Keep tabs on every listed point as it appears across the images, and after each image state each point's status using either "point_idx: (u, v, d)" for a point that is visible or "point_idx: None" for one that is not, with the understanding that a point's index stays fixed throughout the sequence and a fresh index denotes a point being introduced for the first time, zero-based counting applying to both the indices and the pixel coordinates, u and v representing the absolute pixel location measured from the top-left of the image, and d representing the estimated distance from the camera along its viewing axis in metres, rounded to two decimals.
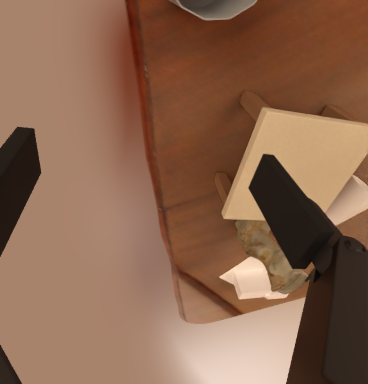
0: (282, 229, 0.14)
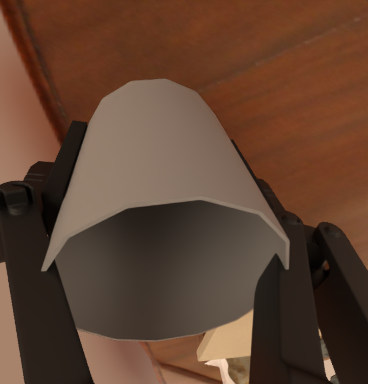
0: None
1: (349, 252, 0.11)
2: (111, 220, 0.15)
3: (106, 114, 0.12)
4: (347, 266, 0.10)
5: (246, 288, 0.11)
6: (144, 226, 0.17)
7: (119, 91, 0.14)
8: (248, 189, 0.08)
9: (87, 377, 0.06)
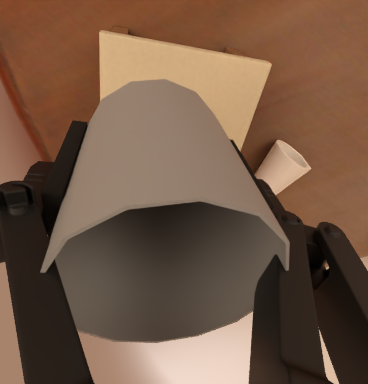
0: None
1: (349, 252, 0.11)
2: (111, 221, 0.15)
3: (106, 115, 0.12)
4: (347, 266, 0.10)
5: (246, 289, 0.11)
6: (144, 226, 0.17)
7: (119, 91, 0.14)
8: (248, 190, 0.08)
9: (87, 377, 0.06)
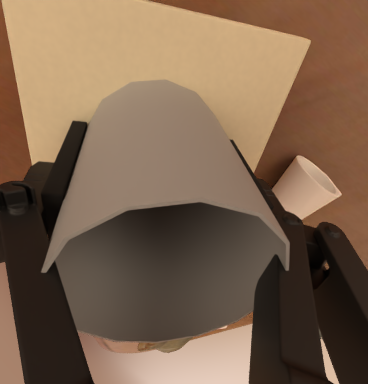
0: None
1: (349, 252, 0.11)
2: (111, 221, 0.15)
3: (106, 115, 0.12)
4: (347, 266, 0.10)
5: (247, 289, 0.11)
6: (144, 227, 0.17)
7: (119, 92, 0.14)
8: (248, 191, 0.08)
9: (87, 377, 0.06)
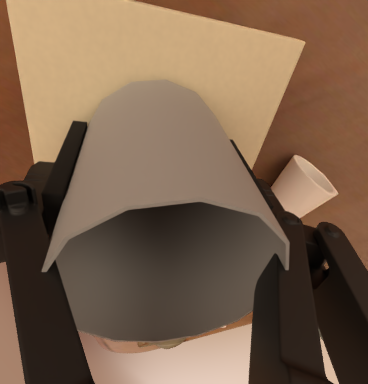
0: None
1: (349, 252, 0.11)
2: (111, 221, 0.15)
3: (106, 115, 0.12)
4: (347, 266, 0.10)
5: (246, 289, 0.11)
6: (144, 226, 0.17)
7: (119, 92, 0.14)
8: (248, 191, 0.08)
9: (87, 377, 0.06)
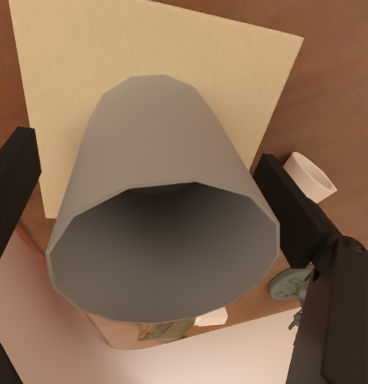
0: (281, 229, 0.14)
1: None
2: (111, 211, 0.16)
3: (107, 107, 0.13)
4: None
5: (241, 273, 0.12)
6: (143, 217, 0.17)
7: (119, 86, 0.14)
8: (241, 174, 0.08)
9: None
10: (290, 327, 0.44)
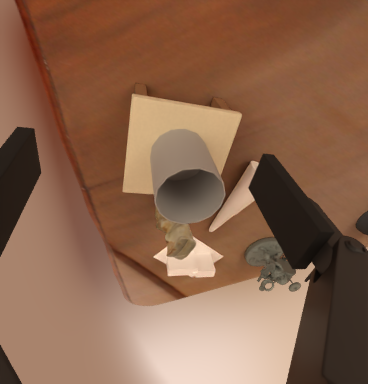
0: (282, 229, 0.14)
1: None
2: (161, 185, 0.37)
3: (165, 144, 0.33)
4: None
5: (214, 205, 0.33)
6: (173, 190, 0.38)
7: (167, 134, 0.35)
8: (212, 167, 0.29)
9: None
10: (258, 280, 0.65)
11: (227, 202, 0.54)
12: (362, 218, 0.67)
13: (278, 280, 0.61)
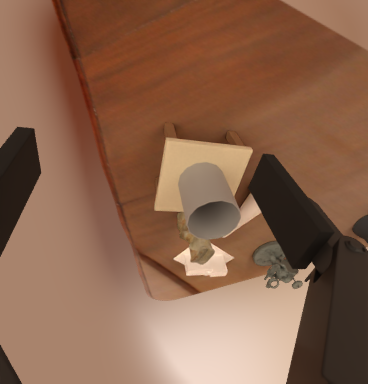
0: (282, 229, 0.14)
1: None
2: None
3: (192, 176, 0.42)
4: None
5: (231, 225, 0.42)
6: (197, 209, 0.47)
7: (193, 167, 0.44)
8: (230, 198, 0.38)
9: None
10: (265, 278, 0.74)
11: None
12: (358, 223, 0.75)
13: (282, 279, 0.70)
